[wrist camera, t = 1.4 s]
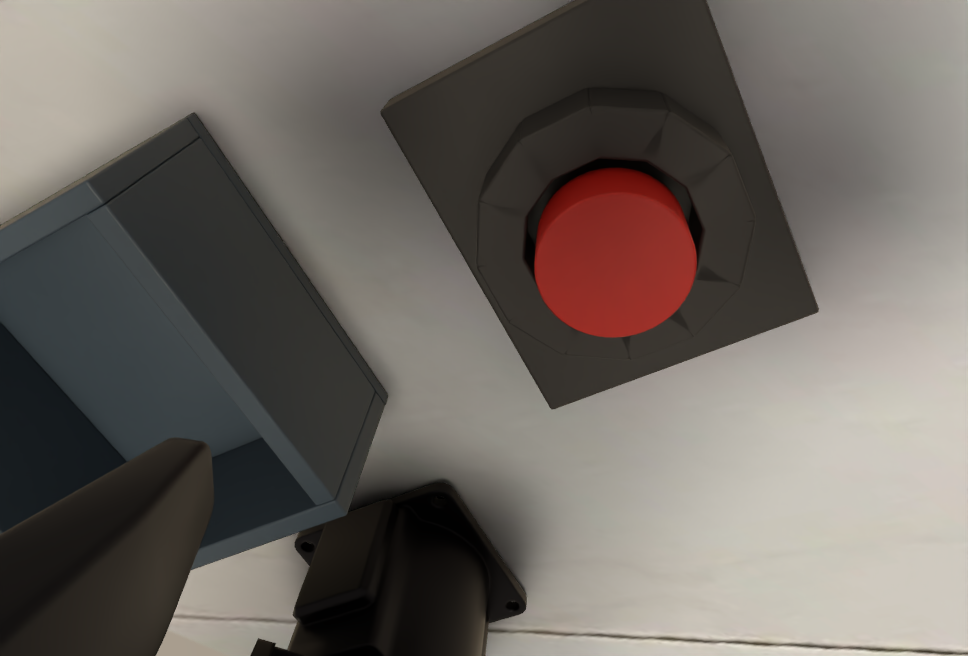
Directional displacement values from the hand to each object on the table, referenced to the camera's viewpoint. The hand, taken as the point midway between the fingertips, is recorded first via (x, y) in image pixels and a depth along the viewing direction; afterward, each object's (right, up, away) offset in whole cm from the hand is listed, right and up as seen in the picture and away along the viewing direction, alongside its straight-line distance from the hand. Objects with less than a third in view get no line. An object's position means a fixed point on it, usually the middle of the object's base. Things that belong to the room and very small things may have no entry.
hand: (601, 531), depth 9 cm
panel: (+2, +6, +12) cm, 14 cm away
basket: (-11, +2, +16) cm, 20 cm away
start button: (+2, +4, +10) cm, 11 cm away
